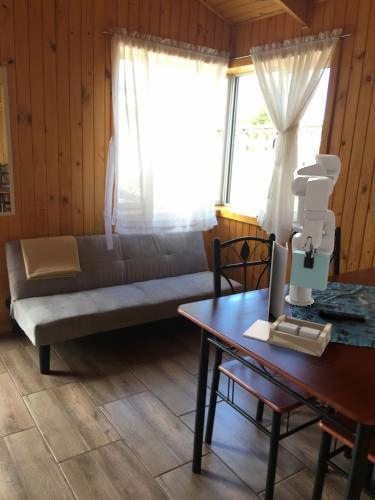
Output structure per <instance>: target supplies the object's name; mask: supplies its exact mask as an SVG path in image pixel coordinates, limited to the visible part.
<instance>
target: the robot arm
mask: <svg viewBox="0 0 375 500" xmlns="http://www.w3.org/2000/svg"><path fill="white" fill-rule="evenodd" d="M341 168H342V161H341V159H340V157H339V156H337V155H336V154H335V155H334V154H316V153H315V154H310V155H308V156H306V158H304V160H303V163H302V166H301V167H298V168H296V169H295V171H294V172H293V174H292V177H291V183H290V186H291V187H290V189H291V193H292V195H293V196H294V197H298V198H297V199H298V201H297V216H296V225H297V227H298V229H300V230H302V232H297V233H296V234H294V235H293V236H292V239H291V250H292V255H291V256H293V252H294V251H295V250H299V251H305V257H304V268H309V269H313V265H314V257H313V256H314V253H319V254H326V255H330V256H332V254H333V252H334V248H335V234H336V233H335V230H336V216H335V215H336V214H335V213H334V211H333V210H331V209H328V208H329V207H328V206H329V198H330V196H331V195H332V193H333V192H334V187H335V185H336V183H337V182H338V178H339V176H340V173H341V171H342V170H341ZM312 290H313V289H310V288H304V287H299V286H294V285H290V284H289V293H288V295H286V296H284V300H285V302H286V303H287V304H289V305H293V306H296V305H297V307H308V306H307V305H310V306H312V305H311V304H313V303H315V300H314V298H313V297H312ZM313 305H314V304H313Z"/></svg>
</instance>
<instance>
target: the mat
mask: <svg viewBox="0 0 375 500" xmlns="http://www.w3.org/2000/svg"><path fill="white" fill-rule="evenodd" d="M273 323H274V322H271V321H268V322H267V320H262V319H257V320H256V321H255V322H254V323H253V324H252V325H251V326H250V327H248V329H247V330H246V331H244V333H242V336H243V337H246V338H250V339H254V340H257V341H262V342H265V343H266V342H268V341H269V329H270V327H271V326H272V324H273Z"/></svg>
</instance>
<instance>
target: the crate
mask: <svg viewBox="0 0 375 500" xmlns="http://www.w3.org/2000/svg"><path fill="white" fill-rule="evenodd" d="M281 322H286V323H290V324H294V325H298V334H297V336H296V335H292V334H288V333H284V332H280V331H278V325H279V324H280V323H281ZM272 323H273V324H272V326H271V327H270V329H269V339H268V341H267V342H268V344H270V345H274V346H278V347H282V348H286V349H288V348H289V350H292V349H293V351H296V350H297V352H299V353H305V354H308V355H312V356H316V357H319V358H320V357H321V356H322V354H323V352H324V351H325V349H326V347H327V345H328V344H329V342H330V340H331V334H332V326H333V323H329V322H327V324H321V323H318V322H312V321H308V320H305V319H299V318H297V317H296V318H294V317H291V316H288V313H285V312H283V313H282V315H281V316H280V317H279V318H278V319H275V321H274V322H272ZM302 326H303V327H307V328H312V329H316V330H320V334H319V338H318V340H313V339H308V338H304V337H300V336H299V330H300V329H301V328H302Z"/></svg>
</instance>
